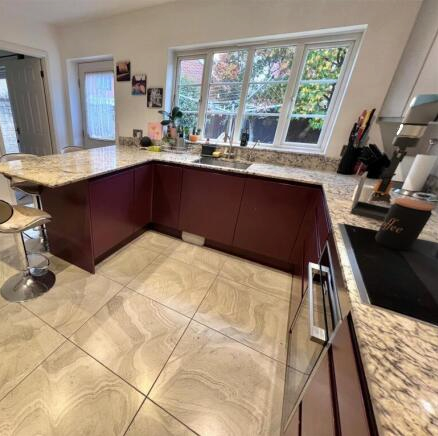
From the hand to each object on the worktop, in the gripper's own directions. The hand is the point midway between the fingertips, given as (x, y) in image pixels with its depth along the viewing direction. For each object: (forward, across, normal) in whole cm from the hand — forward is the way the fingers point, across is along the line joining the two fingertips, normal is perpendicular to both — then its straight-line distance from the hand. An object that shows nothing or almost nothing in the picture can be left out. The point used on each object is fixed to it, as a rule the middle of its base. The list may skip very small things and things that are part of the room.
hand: (381, 190), depth 105 cm
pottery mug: (+17, -47, +1) cm, 50 cm away
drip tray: (+17, -16, 0) cm, 23 cm away
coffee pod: (+1, 0, 0) cm, 1 cm away
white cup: (+17, -37, -7) cm, 42 cm away
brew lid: (+5, -16, -8) cm, 19 cm away
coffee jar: (+17, +20, +10) cm, 28 cm away
